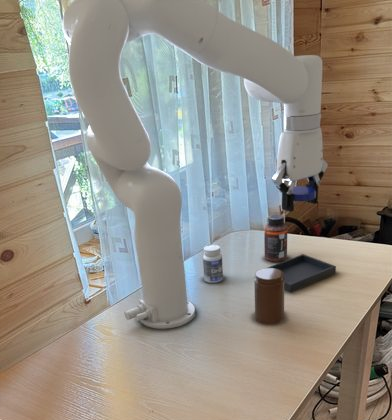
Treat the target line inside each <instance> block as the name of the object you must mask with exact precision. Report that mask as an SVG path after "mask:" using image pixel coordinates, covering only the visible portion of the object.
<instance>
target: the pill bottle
mask: <svg viewBox="0 0 392 420" xmlns="http://www.w3.org/2000/svg"><path fill="white" fill-rule="evenodd" d="M203 254H204V255H203V256H202V264H203V265H202V266H203V279H204V281H205V282H207V283H209V284H216V283H220V282H221V281H222V280H224V269H223V268H224V267H223V255H222V254H221V246H220V245H218V244H209V245H206V246H204V247H203Z"/></svg>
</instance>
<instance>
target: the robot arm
mask: <svg viewBox="0 0 392 420" xmlns="http://www.w3.org/2000/svg"><path fill="white" fill-rule="evenodd" d="M61 26H62V32H63V35H64V38H65V40H66V41H67V43H68V45H69V46H68V47H69V48H68V57H67V58H68V59H67V60H68V61H67V69H68V70H67V71H68V78H69V84H70V88H71V90H72V93H73V95H74V98H75V100H76V102H77V104H78V106H79V108H80V110H81V112H82V114H83V116H84V118H85V120H86V122H87V124H88V127H87V129H86V142H87V146H88V149H89V151H90V152H89V153H91V156H92V158H93V160H94V162H95V163H96V164H97V166H98V169H99V170H100V172H101V173H102V175H103V177H104V179H105V181H106V182H107V184H108V185H109V187H110V189H111V190H112V193H113V194H114V196H115V197H116V198H117V200H118V201H119V202H120V203H121V204H122V205H124V207H126V208H127V209H129V210H131V211H132V212H133V215H134V230H133V231H134V232H133V233H134V244H135V252H136V257H137V264H138V271H139V278H140V279H139V280H140V285H141V290H142V291H141V292H142V298H141V299H139V304H138V305H136V307H135V308H131V309H127V310H125V311H124V317H125V319H126V320H127V321H129V320H132V319H134V318H135V320H136V321H137V322H140V323H141V324H142V325H144V326H146V327H149V328H151V329H157V330H158V329H161V330H163V329H174V328H178V327H180V326H184V325H185V324H187V323H189V322H190V321H192V320H193V318H194V317H195V316H196V308H195V305H194V304H193V303H192V302H190V300H189V301H188V296H187V295H188V294H187V285H186V274H185V273H186V272H185V265H184V264H185V263H184V253H183V252H184V251H183V242H182V231H181V226H182V225H181V219H182V218H181V217H182V203H183V202H182V200H183V199H182V192H181V190H180V187H179V185H178V183H177V182H176V180H175V179H174V178H173V177H172V176H171V175H170V174H169V173H167V172H165V171H163V170H161V169H159V168H157V167H154V166H151V165H150V163H149V160H150V157H151V154H152V142H151V138H150V136H149V133H148V131H147V129H146V127H145V125H144V124H143V121H142V120H141V117H140V116H139V114H138V111H137V110H136V108H135V106H134V103H133V102H132V100H131V98H130V96H129V93H128V91H127V88H126V86H125V83H124V81H123V78H122V73H121V58H122V53H123V50H124V47H125V45H126V44H128V43H130V42H133V41H135V40H138V39H140V38H144V37H146V36H150V35H155V36H157V37H159V38H161V39H162V40H163V41H165V42H167V43H169V44H170V45H172V46H173V47H175V48H176V49H178V50H180V51H182V52H183V53H184V54H186V55H187V56H189V57H190V58H192V59H193V60H195V61H196V62H197V63H200V64H201V65H203V66H205V67H207V68H209V69H212V70H215V71H217V72H221V73H225V74H230V75H232V76H233V75H234V76H236V77H239V78H241V79H243V85H244V88H245V92H247V94H248V95H249V96H250V97H251V98H253V99H254V100H257V101H261V102H267V103H276V104H283V131H281V132H280V136H279V140H278V148H277V157H276V171H275V173H274V175H272V178H271V181H272V183H273V184H274V185H275V188H277V190H278V191H279V192H280V193H281V209H282V210H283V211H287V212H289V213H291V212H294V210H295V209H294V208H295V201H294V194H292V190H293V187H295V184H296V182H297V181H300V180H304V179H306V181H307V183H306V184H305V187H311V188H314V189H315V190H316V197H315V198H314V199H313V200H309V201H306V202H307V203H309V204H314V205H316V204H317V203H318V199H319V197H318V196H319V186H320V185H321V183H322V182H321V180H322V179H323V177H324V175H325V172H326V170H327V168H328V167H329V163H328V162H327V161H326V160H325V159H324V148H323V147H324V146H323V145H324V143H323V133H322V127H321V119H322V118H323V117H322V113H321V110H322V109H321V108H322V87H323V86H322V85H323V59H322V58H321V56H319V55H316V54H307V55H304V54H303V55H294V54H293V53H291V52H290V51H289V50H287V49H286V48H285V47H284V46H282V45H281V44H279V43H278V42H276V41H275V40H273V39H271V38H269V37H267V36H265V35H263V34H261V33H260V32H258V31H255V30H253V29H251V28H249V27H247V26H246V25H243V24H242V23H239V22H237V21H235V20H233V19H232V18H230V17H228V16H226V15H225V14H223V13H222V12H221V11H220V10H218V9H216V8H215V7H214V6H213V5H211V4H210V3H208V2H207V1H206V0H73V1H72V2H70V3H69V5H67V7H66V9H65V11H64V13H63V16H62V23H61Z"/></svg>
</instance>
